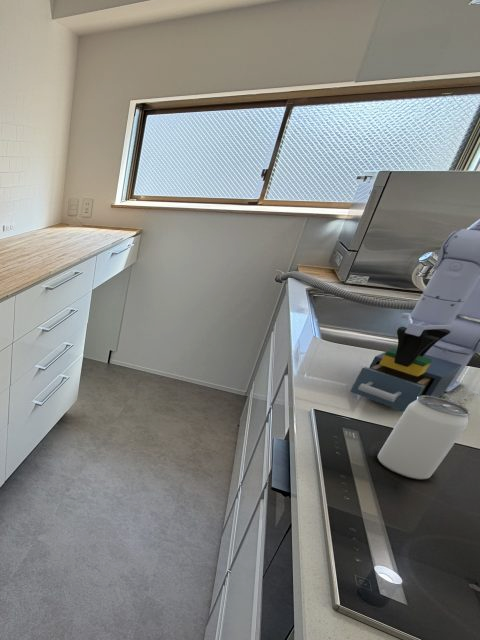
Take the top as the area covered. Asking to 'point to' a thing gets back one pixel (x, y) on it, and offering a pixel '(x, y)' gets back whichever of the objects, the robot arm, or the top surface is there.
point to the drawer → (390, 386)
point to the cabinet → (433, 373)
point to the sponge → (414, 369)
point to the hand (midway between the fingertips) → (405, 362)
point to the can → (423, 437)
